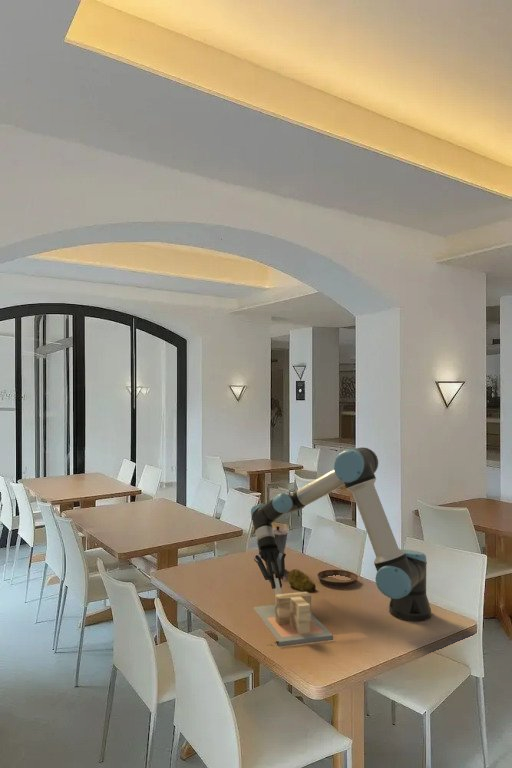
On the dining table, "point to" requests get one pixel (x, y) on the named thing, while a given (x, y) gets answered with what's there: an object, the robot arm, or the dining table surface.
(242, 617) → the dining table surface
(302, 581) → the potato
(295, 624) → the t block
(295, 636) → the board
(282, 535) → the moka pot
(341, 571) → the plant saucer
